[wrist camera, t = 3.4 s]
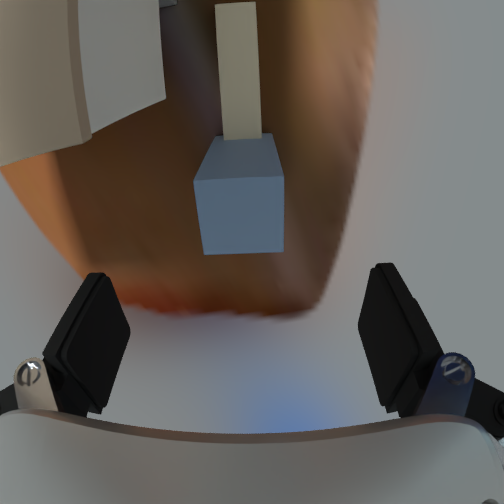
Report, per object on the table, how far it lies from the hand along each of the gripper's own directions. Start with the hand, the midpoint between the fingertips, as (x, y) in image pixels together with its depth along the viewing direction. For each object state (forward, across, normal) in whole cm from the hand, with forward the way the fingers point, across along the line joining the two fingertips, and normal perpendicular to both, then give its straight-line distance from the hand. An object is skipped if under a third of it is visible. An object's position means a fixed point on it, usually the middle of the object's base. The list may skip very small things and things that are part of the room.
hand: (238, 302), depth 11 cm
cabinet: (+14, +10, -10) cm, 20 cm away
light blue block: (+14, 0, -6) cm, 15 cm away
